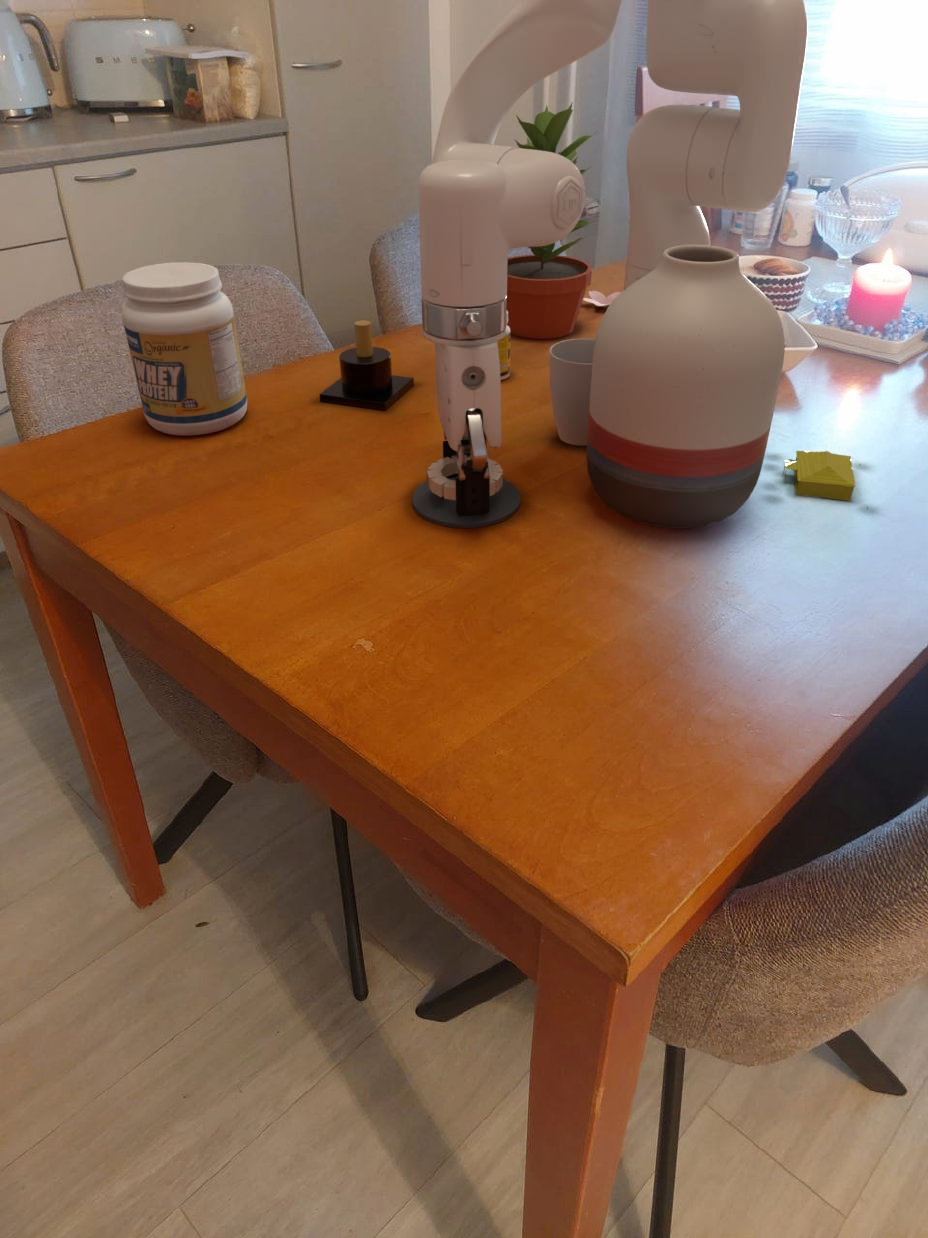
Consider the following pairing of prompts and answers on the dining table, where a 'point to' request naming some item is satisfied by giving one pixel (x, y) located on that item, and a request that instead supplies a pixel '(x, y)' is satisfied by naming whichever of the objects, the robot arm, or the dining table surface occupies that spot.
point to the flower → (601, 298)
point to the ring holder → (366, 375)
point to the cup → (571, 388)
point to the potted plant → (547, 257)
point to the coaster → (445, 515)
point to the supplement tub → (184, 348)
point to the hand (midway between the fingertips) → (465, 493)
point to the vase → (683, 391)
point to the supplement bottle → (504, 353)
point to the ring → (450, 467)
